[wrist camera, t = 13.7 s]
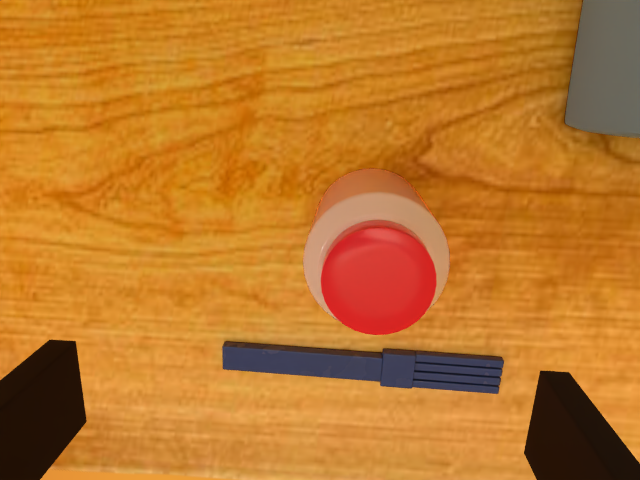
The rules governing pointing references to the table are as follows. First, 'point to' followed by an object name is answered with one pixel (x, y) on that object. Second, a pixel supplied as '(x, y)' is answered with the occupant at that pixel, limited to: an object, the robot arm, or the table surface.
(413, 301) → the pill bottle
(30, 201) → the table surface
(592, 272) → the table surface
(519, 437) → the table surface
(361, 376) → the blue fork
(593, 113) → the container
